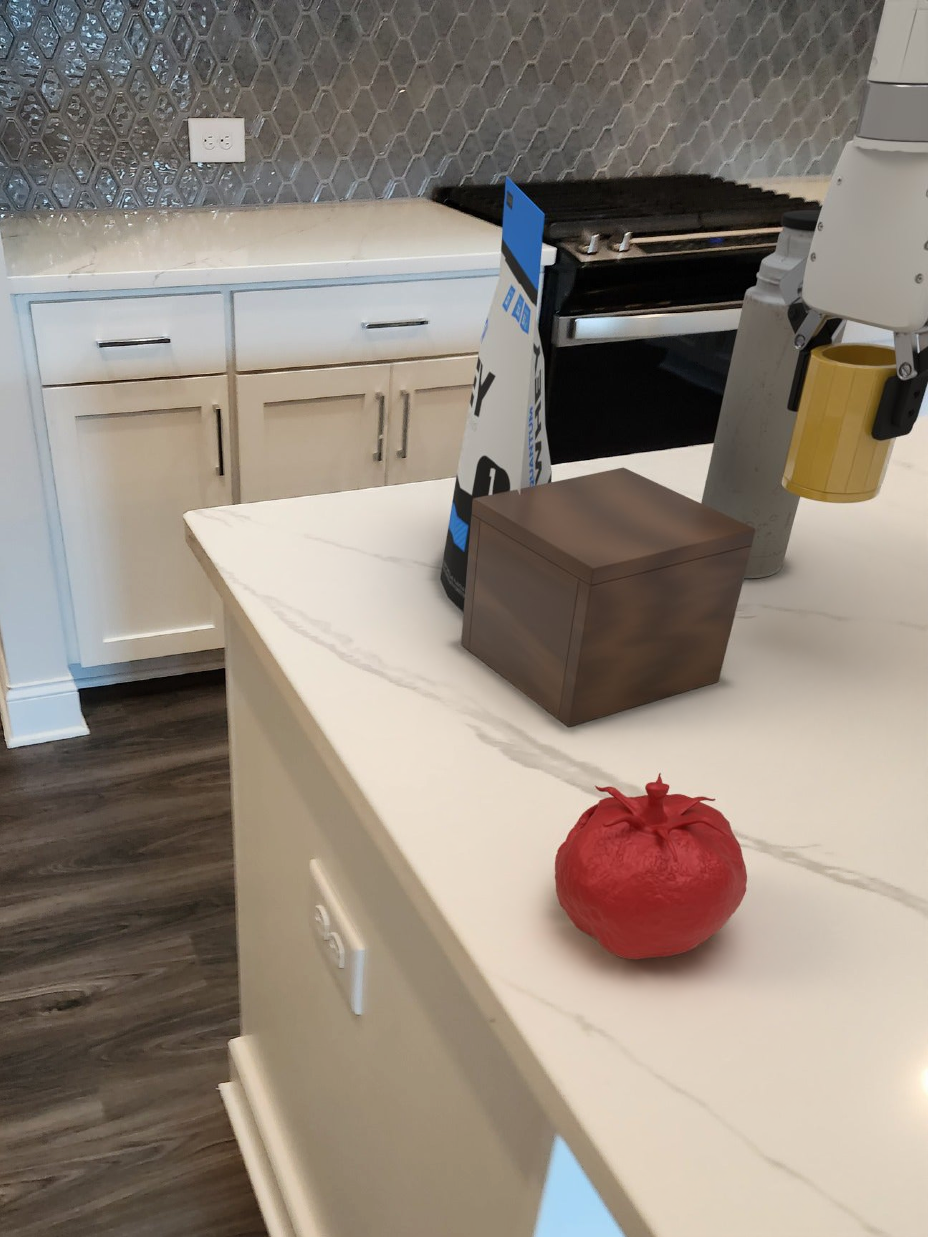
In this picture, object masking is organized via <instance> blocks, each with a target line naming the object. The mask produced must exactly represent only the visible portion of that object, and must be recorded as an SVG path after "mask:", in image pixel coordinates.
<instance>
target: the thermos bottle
mask: <svg viewBox="0 0 928 1237" xmlns="http://www.w3.org/2000/svg"><path fill="white" fill-rule="evenodd" d="M820 212H821V210H819V209H818V210H817V209H816V210H815V209H814V210H813V209H811V210H810V209H808V210H806V209H805V210H803V209H802V210H791V211H787V212H784V213H782V216H781V220H780V225H781V226H782V229H781V231H780V232H779V234H778V238H777V242H776V247H775V251H774V252H773V253H770V254H769V255H767V256H765V257H764V258H763V259H762V260H761V263H760V265H759V271H758V272H757V273H756V279H757V281H756V285H754V286H751V287H749V288H748V289H746V291H745V293H744V297H743V302H742V307H741V311H740V316H739V322H738V326H737V330H736V336H735V341H734V344H733V350H732V354H731V359H730V364H729V369H728V374H727V379H726V383H725V388H724V393H723V398H722V403H721V407H720V410H719V411H720V412H719V416H718V421H717V426H716V431H715V436H714V441H713V445H712V450H711V455H710V460H709V464H708V468H707V469H708V470H707V474H706V479H705V484H704V488H703V492H702V498H701V501H700V503H701V504H703V505H705V506H707V507H710V508H712V509H714V510H716V511H718V512H720V513H722V514H725V515H727V516H729V517H731V518H733V519H735V520H738V521H740V522H742V523H744V524H746V525H748V526H750V527H753V528H755V529H756V531H755V535H754V539H753V543H752V548H751V552H750V556H749V560H748V564H747V568H746V572H745V576H744V579H760V578H761V579H762V578H766V577H769V576H772V575H774V574H776V573H778V572H779V571H780V570H781V569H782V568H783V564H784V560H785V556H786V554H787V553H786V552H787V550H788V545H789V542H790V538H791V534H792V530H793V526H794V523H795V522H794V521H795V518H796V514H797V510H798V507H799V503H800V500H801V497H800V496H797V495H795V494H793V493H791V492H789V491H787V490H786V489H785V488H784V487H783V486H782V483H781V480H782V475H783V468H784V464H785V460H786V456H787V451H788V447H789V443H790V438H791V434H792V430H793V426H794V421H795V417H796V413H797V412H793V411H790V410H788V409H787V404H788V400H789V396H790V391H791V386H792V382H793V378H794V373H795V369H796V364H797V360H798V356H799V351H800V350H796V349H795V348H794V346H793V338H794V336H795V333H794V331H793V329H792V326H791V324H790V321H789V319H788V316H787V312H788V309H789V308H788V307H786V304H785V301H784V299H783V296H782V293H781V290H780V287H779V283H780V280H781V278H782V277H783V276H784V275H786V274H787V273H788V272H789V271H790V270H792V269H793V268H794V267H795V266H796V265H798V264H799V263H800V262H801V261H802V260H803V259H805V258H806V257H807V256H808V255H809V251H810V247H811V243H812V239H813V236H814V232H815V229H816V225H817V222H818V218H819V215H820ZM847 321H848V320H847ZM847 321H846V323H845V324H844V326H843V327H842V329H841V330H840V332H839V333H838V335H837V336H836V338H835V340H834V341H833V342H832V344H834V343H842V342H843V337H844V334H845V330H846V326H847Z"/></svg>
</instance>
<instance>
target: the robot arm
mask: <svg viewBox="0 0 928 1237" xmlns="http://www.w3.org/2000/svg"><path fill="white" fill-rule="evenodd" d="M820 211H821V212H820V215H819V218H818V222H817V225H816V229H815V232H814V236H813V239H812V243H811V247H810V251H809V255H808V256H807V257H806V258H805V259H803V260H802V261H801V262H800V263H799V264H798V265H796V266H795V267H794V268H793V269H792V270H790V271H789V272H788V273H787V274H786V275H784V276H783V277H782V278H781V280H780V283H779V287H780V290H781V293H782V296H783V299H784V301H785V304H786V307H788V308H789V309H788V312H787V316H788V319H789V321H790V324H791V326H792V329H793V331H794V333H795V336H794V338H793V346H794V348H795V349H796V350H800V351H799V356H798V360H797V364H796V369H795V373H794V378H793V382H792V386H791V391H790V396H789V400H788V404H787V409H788V410H790V411H793V412H797V408H798V404H799V400H800V395H801V391H802V387H803V383H804V378H805V374H806V370H807V365H808V361H809V357H810V352H811V350H813V349H814V348H816V347H818V346H823V345H828V344H832V342H833V341H834V340H835V338H836V336H837V335H838V333H839V332H840V330H841V329H842V327H843V326H844V324H845V323H846V324H847V322H846V321H849V322H854V323H858V324H861V325H866V326H870V327H874V328H878V329H882V330H887V331H892V333H893V345H894V346H893V347H895V357H896V368H897V376H893V377H888V379H887V380H886V382H885V385H884V389H883V392H882V396H881V399H880V403H879V407H878V410H877V414H876V418H875V421H874V425H873V428H872V432H871V435H872V438H873V439H876V440H879V441H883V440H887V439H891V438H895V437H896V438H899V437H903V436H907V435H909V434H910V433H911V432H912V431H913V428H914V425H915V423H916V422H917V420H918V417H919V415H920V410H921V408H922V403H923V400H924V397H925V395H926V391H927V387H928V0H884V5H883V8H882V13H881V18H880V22H879V26H878V31H877V34H876V39H875V43H874V48H873V52H872V56H871V62H870V65H869V70H868V74H867V81H866V83H865V87H864V90H863V96H862V100H861V105H860V109H859V113H858V117H857V122H856V126H855V130H854V134H853V138H852V140H848V141H846V142H845V145H844V147H843V149H842V152H841V155H840V156H839V159H838V161H837V164H836V167H835V168H834V171H833V174H832V177H831V179H830V181H829V185H828V188H827V191H826V193H825V197H824V199H823V202H822V205H821V209H820ZM917 336H918V337H917ZM918 348H919V349H918Z"/></svg>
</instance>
